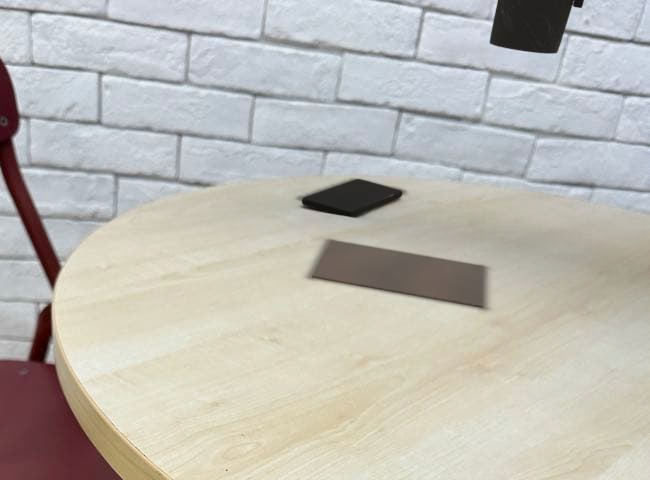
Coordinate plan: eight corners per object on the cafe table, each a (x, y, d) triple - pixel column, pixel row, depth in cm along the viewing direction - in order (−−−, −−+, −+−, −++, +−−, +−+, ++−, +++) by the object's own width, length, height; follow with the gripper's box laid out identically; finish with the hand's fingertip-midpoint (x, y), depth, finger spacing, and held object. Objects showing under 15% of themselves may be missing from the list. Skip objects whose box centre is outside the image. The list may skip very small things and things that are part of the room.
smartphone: (404, 190, 109) (350, 212, 98) (403, 197, 109) (349, 219, 99) (357, 178, 111) (300, 197, 101) (356, 184, 112) (298, 204, 101)
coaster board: (481, 275, 87) (483, 265, 87) (480, 316, 78) (483, 306, 77) (329, 249, 89) (330, 239, 89) (310, 286, 80) (311, 275, 79)
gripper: (494, -334, 71) (431, -11, 85) (751, -314, 68) (643, 17, 82) (495, -313, 77) (436, -14, 90) (732, -293, 74) (634, 12, 87)
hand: (535, 0), depth 86 cm, fingers closed on travel mug, 8 cm apart
